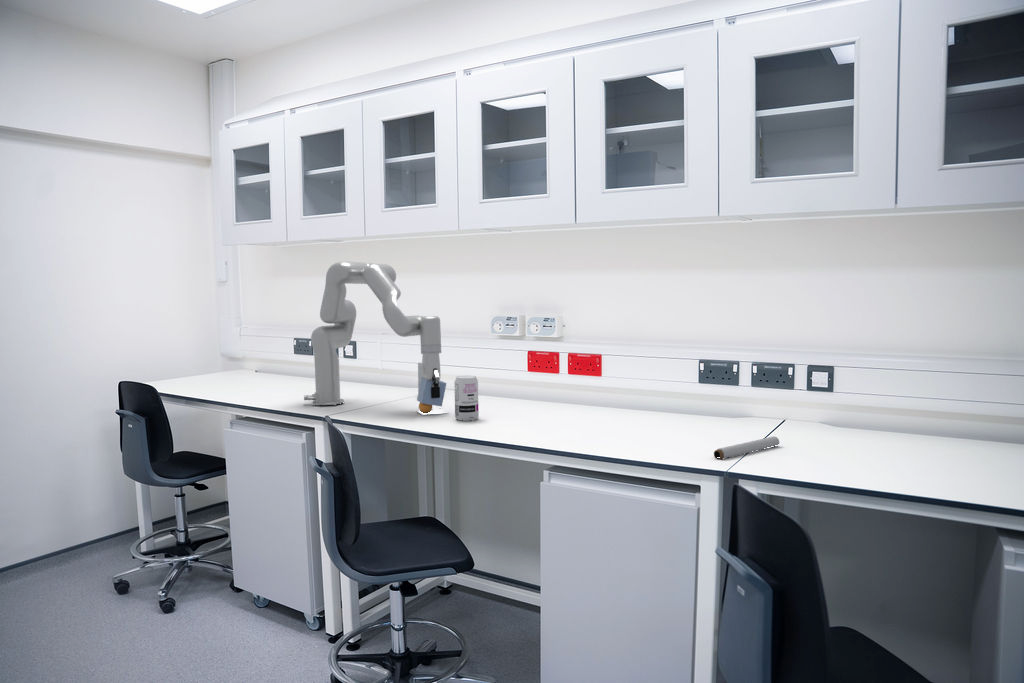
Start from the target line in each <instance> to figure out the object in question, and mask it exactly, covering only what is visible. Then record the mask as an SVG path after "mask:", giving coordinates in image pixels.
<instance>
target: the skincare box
mask: <svg viewBox="0 0 1024 683" xmlns="http://www.w3.org/2000/svg"><path fill="white" fill-rule="evenodd" d="M421 378H422V361H420V362H418V363H417V379H418V380H417V388H418V389H417V394H418V393H419V388H420V383H421ZM439 380H440V381H441V378H440V379H439Z"/></svg>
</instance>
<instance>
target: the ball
mask: <svg viewBox="0 0 1024 683" xmlns="http://www.w3.org/2000/svg"><path fill="white" fill-rule="evenodd" d="M418 403H419V404H418V410H420V411H421V412H423V413H428V412H430V411H431V410H432V409H433V405H429V404H423V403H420V402H418Z"/></svg>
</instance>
